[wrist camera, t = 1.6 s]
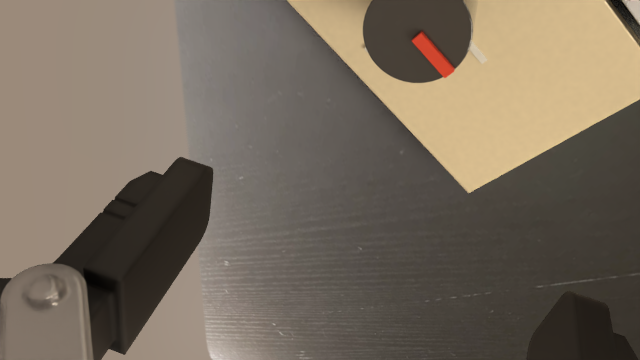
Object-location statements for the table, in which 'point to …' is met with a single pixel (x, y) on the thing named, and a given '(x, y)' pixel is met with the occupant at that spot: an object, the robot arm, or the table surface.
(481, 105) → the panel
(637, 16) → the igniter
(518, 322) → the table surface
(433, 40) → the knob
